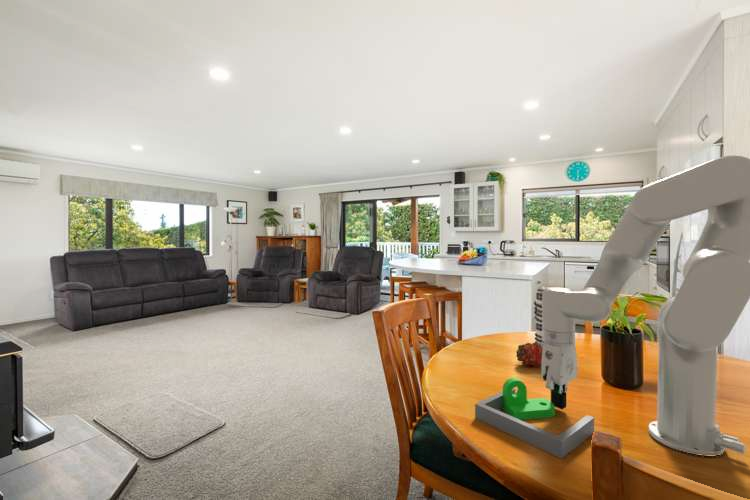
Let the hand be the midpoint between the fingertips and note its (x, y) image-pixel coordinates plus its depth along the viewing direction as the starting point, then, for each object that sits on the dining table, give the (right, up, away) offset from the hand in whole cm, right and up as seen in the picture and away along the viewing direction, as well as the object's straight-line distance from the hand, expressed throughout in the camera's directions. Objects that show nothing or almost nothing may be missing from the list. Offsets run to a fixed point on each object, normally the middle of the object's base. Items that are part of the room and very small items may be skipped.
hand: (558, 406), depth 92 cm
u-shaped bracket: (-9, -1, -7) cm, 12 cm away
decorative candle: (+19, +1, +45) cm, 49 cm away
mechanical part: (-8, -1, -1) cm, 8 cm away
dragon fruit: (+7, 0, +32) cm, 33 cm away
